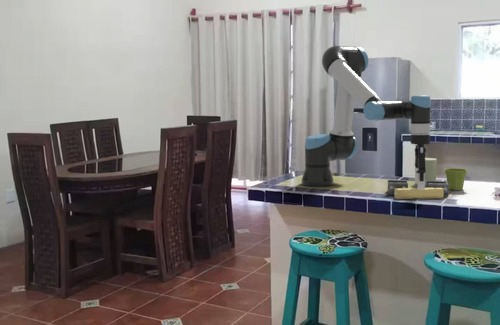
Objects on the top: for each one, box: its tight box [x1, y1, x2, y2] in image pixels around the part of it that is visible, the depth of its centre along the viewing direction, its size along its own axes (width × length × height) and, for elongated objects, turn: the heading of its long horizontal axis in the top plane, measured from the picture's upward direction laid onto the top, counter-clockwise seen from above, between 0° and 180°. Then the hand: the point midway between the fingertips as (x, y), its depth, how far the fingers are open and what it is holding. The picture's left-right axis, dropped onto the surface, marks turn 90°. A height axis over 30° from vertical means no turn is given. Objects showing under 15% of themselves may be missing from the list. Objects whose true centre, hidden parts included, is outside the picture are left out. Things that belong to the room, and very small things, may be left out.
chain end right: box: [425, 180, 450, 197], centre depth 213 cm, size 8×8×5 cm
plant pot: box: [443, 167, 468, 191], centre depth 224 cm, size 9×9×9 cm
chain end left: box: [387, 179, 409, 196], centre depth 217 cm, size 8×8×5 cm
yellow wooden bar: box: [393, 187, 445, 200], centre depth 208 cm, size 19×4×4 cm, turn 92°
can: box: [425, 157, 438, 186], centre depth 240 cm, size 9×9×12 cm
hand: (419, 186), depth 207 cm, fingers open, 13 cm apart
